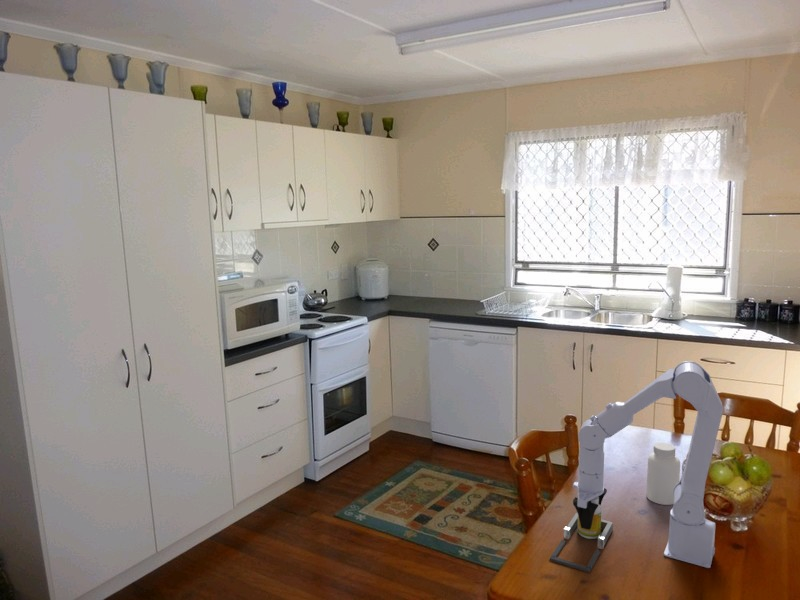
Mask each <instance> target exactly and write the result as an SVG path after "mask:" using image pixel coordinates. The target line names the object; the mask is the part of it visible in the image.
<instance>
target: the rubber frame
mask: <svg viewBox="0 0 800 600" xmlns="http://www.w3.org/2000/svg"><path fill="white" fill-rule="evenodd" d="M566 544H567V543H566V540H564V539H560V542H558V544H557V546H556V547H555V549H554V551H553V552H552V554H551V555H550V556H549V561H551V562H554V563H557V564H560V565H564V566H566V567H570V568H573V569H577V570H580V571H582V572H587V573H589V574H590V573H591V571H592V569H593V568H594V565H596V562H597V560H598V558H599V556H600V554H601V550H599V549H595V551H593V554H592V556H591V558H590V559H589V561H588V563H587V565H583V564H580V563H577V562H573V561H570V560H568V559H563V558H560V557H558V556H559V555H560V553H561V551H562V549H563V548H564V547H565V545H566Z"/></svg>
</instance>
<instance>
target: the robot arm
mask: <svg viewBox="0 0 800 600" xmlns="http://www.w3.org/2000/svg"><path fill="white" fill-rule="evenodd" d="M677 395H678V396H679V397H680V398H681V399H683V400H684V401H687V402H688V403H690V405H692V407H694V409H695V410H696V411H697V414H696V418H695V421H694V426H693V430H692V433H691V434H692V435H691V439H690V443H689V447H688V451H687V455H686V460H685V465H684V467H683V468H684V469H683V472H682V473H681V476H680V479H679V483H677V484H676V485H675V487H674V490H673V495H674V504H672V505H673V506H672V508H671V509H670V512H669V526H668V528H669V529H668V540H667V543H666V545H665V546H666V547H665V549H664V552H663V556H664V557H666V558H670V559H675V560H678V561H682V562H685V563H689V564H692V565H697V566H699V567H702V568H703V567H704V568H706V569H710V568H711V565H712V561H713V558H714V556H715V554H716V553H715V552H716V547H715V539H716V538H715V536H716V522H714V521H712V520H709V519H707V518H706V515H705V514H706V512H705V507H704V497H705V489H706V488H705V487H706V481H707V478H708V475H709V471H710V470H709V469H710V466H711V461H712V458H713V453H714V450H715V445H716V442H717V438H718V433H719V429H720V425H721V422H722V417H723V413H724V407H723V403H722V399H721V398H720V395H719V394H718V391H717V390H716V387H715V384H714V383H713V381H712V379H711V375H710V374H709V372H707V371H706V369H705V368H704V367H702V365H701V364H700V363H697V362H695V361H692V360H684V361H682V362H680V363H679V364H678V365H676V366H675V368H674V367H672V368H670V369H668V370H666V371H665V372H663V373H662V374H661V375H660V376H658V377H656V378H655V379H654V380H652V381H651V382H649V384H648V385H645V387H643V388H642V389H641V390H640V391H638V392H637V393H635V394H634V395H633V396H631V397H630V398H629V399H627V400H626V401H625V402H623V401H615V402H613V403H612V402H608V403H607V404H606V406H605V408H604V410H602V411H601V412H599V413H597V415H594V414H593V415H591V416H590V417H589V419H586V420H585V421H583V423H582V425H581V427H580V429H579V431H578V442H579V451H578V477H577V480H578V481H574V482H573V484H572V487H573V488H575V489H577V497H576V496H575V497H574V498H573V500H572V504H573V506H574V509H575V510H576V513H578V516H579V520H580V525H581V528H584V529H588V530H590V528H591V526H592V521H593V516H594V513H595V510H596V509H597V507H598V504H599V505H600V506H601V505H602V502H603V500H604V497H605V496H606V494H607V493H608V492H607V491H608V490H607V488H605V486H604V474H605V473H604V468H605V451H604V450H605V449H604V445H605V442H606V441H605V440H606V439H608V438H611V437H613V436H615V435H616V434H617V433H619V432H620V431H622V430H624V429H625V428H626V427H628V426H629V425H631V424H632V423H633V422H634V415H636V414H637V413H639V412H641V410H642V411H643V410H644V409H645V408H647V407H648V406H650V405H652V404H654V403H655V402H657V401H658V400H660V399H662V398H666V399H674V400H676V399H677ZM596 497H599V503H598V504H594V503H591V501H590V500H592V499H594V498H596ZM601 507H602V506H601Z"/></svg>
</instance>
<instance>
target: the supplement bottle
mask: <svg viewBox="0 0 800 600" xmlns="http://www.w3.org/2000/svg"><path fill="white" fill-rule="evenodd" d="M590 501H591V503H594V504H598V503H599V497H596V498H594V499H592V500H590ZM601 519H602V506H600V505H599V504H598V507H597V509H596V510H595V513H594V516H593V521H592V526H591V528H590V530H588V529H584V528H581V525H580V520H579V516H578V525H577V534H578V535H579V536H581V537H582V538H585V539H589V540H591V539H592V540H593V539H594V540H595V539H598V537H599V536H601V534H602V529H601Z"/></svg>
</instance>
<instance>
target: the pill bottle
mask: <svg viewBox="0 0 800 600" xmlns="http://www.w3.org/2000/svg"><path fill="white" fill-rule="evenodd" d="M680 472H681V460H680V458H679V457H678V456H677V455H676V447H675V445H673V444H671V443H669V442H656V443H654V444H653V452H651V453H650V454H649V455H648V457H647V471H646V473H647V474H646V486H645V487H646V488H645V489H646V491H645V493H646V498H648V500H649V501H651V502H652V503H655V504H658V505H663V506H670V505H674V495H673V490H674V487H675V485H676V484H677V483H679V481H680V479H681V476H680V475H681V473H680Z"/></svg>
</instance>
